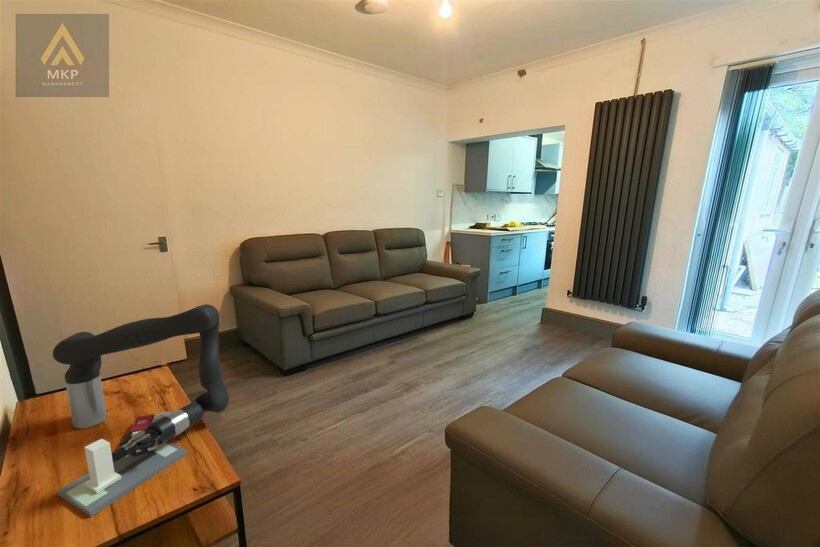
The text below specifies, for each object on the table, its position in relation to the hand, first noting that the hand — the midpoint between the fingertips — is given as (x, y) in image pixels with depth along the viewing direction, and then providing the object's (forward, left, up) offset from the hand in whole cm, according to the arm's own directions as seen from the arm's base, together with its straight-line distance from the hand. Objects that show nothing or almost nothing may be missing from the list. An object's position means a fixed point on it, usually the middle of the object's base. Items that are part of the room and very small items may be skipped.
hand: (108, 460), depth 103 cm
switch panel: (0, +4, -7) cm, 9 cm away
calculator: (-13, +19, -8) cm, 24 cm away
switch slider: (0, -2, -6) cm, 6 cm away
